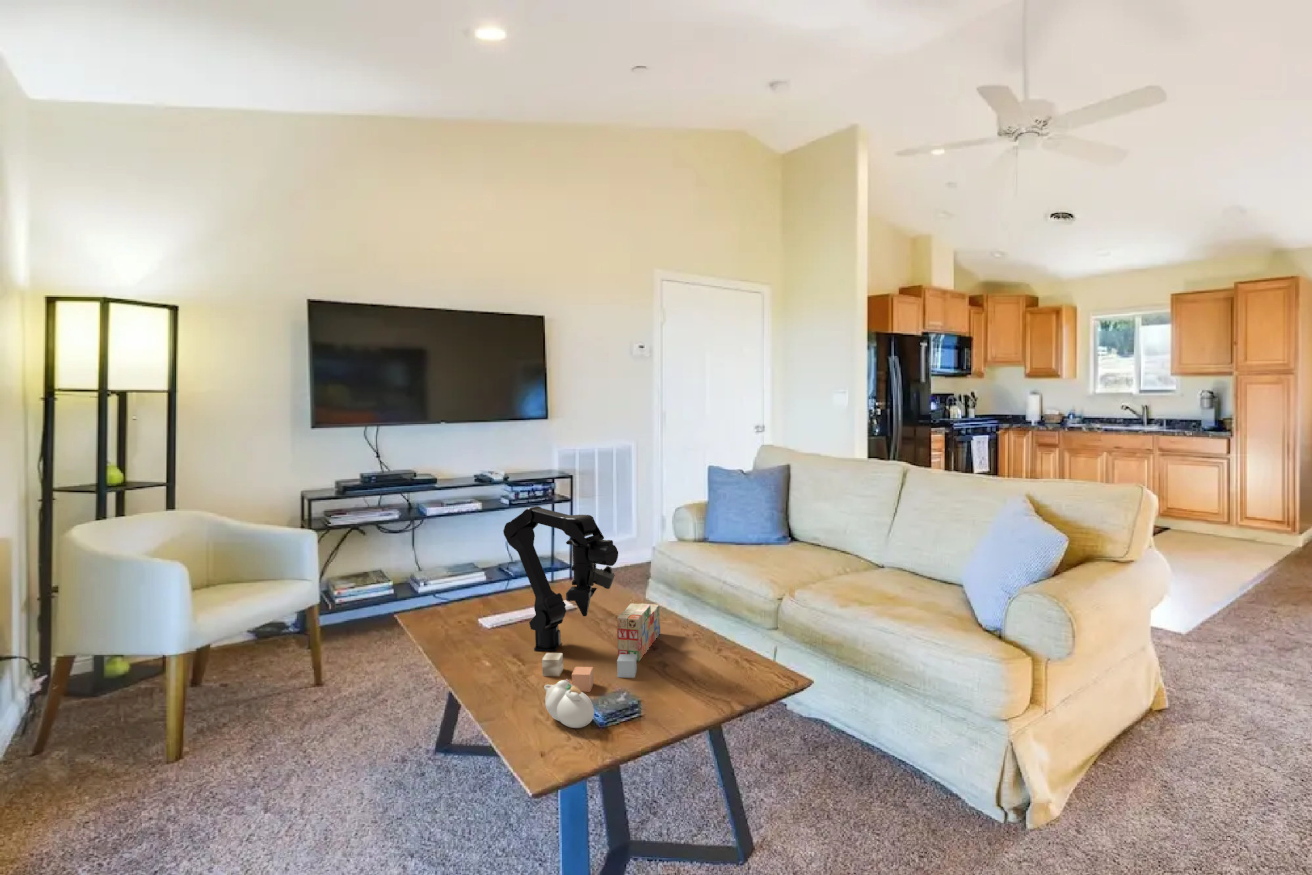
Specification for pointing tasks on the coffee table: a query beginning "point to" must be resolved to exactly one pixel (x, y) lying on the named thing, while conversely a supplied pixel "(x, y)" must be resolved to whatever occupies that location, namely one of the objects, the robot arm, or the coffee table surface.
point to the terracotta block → (583, 678)
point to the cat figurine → (568, 704)
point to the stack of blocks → (638, 629)
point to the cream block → (552, 664)
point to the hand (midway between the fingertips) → (585, 615)
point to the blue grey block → (626, 665)
